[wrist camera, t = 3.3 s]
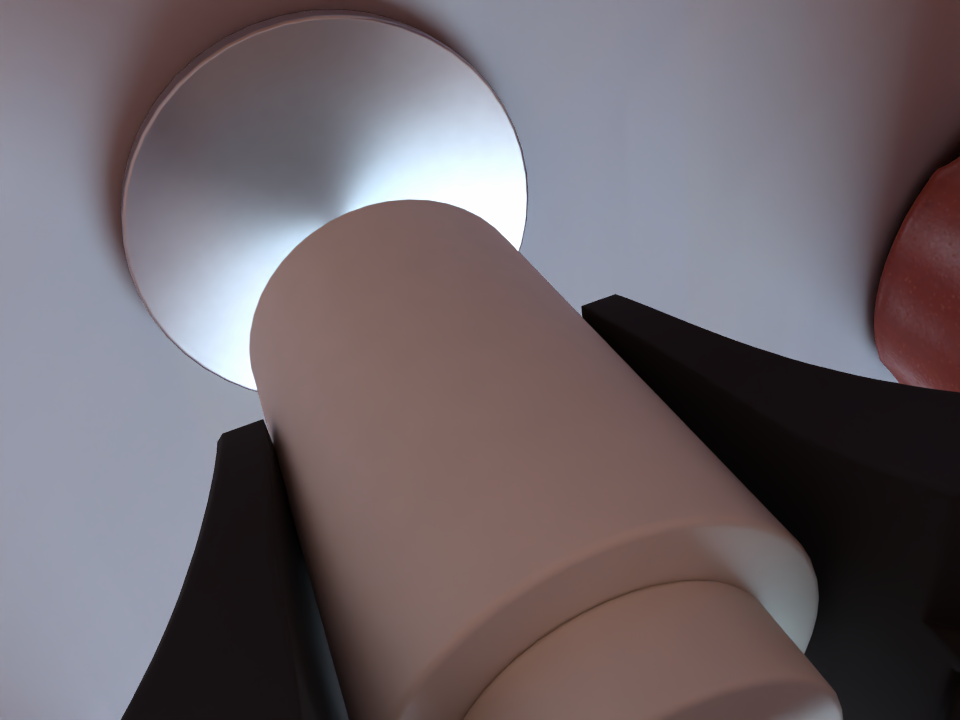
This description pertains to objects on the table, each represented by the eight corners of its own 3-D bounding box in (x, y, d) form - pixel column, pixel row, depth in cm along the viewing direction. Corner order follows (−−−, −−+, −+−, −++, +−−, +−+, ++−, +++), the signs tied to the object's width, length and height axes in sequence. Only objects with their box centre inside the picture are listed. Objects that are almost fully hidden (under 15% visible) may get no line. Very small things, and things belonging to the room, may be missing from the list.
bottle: (294, 486, 16) (631, 1636, 6) (205, 249, 13) (599, 1819, 3) (540, 398, 17) (1172, 1233, 7) (513, 161, 14) (1576, 1045, 4)
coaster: (209, 436, 20) (211, 450, 20) (39, 75, 15) (37, 83, 15) (537, 320, 22) (547, 330, 22) (491, -38, 17) (502, -34, 16)
